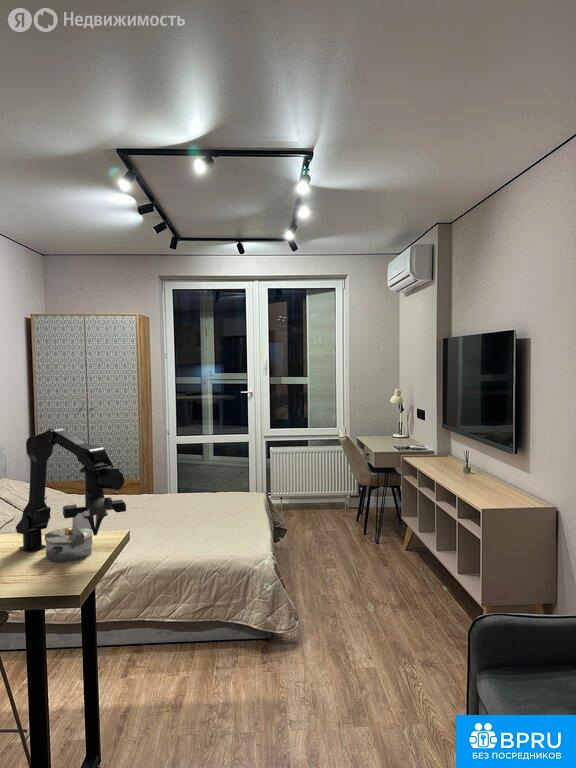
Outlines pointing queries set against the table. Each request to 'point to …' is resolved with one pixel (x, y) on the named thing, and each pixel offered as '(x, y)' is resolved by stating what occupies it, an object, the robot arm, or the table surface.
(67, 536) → the lid
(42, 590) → the table surface
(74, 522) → the skincare box
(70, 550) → the pot
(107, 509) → the robot arm
